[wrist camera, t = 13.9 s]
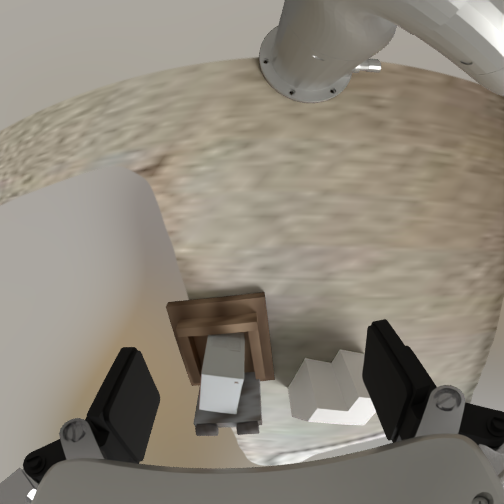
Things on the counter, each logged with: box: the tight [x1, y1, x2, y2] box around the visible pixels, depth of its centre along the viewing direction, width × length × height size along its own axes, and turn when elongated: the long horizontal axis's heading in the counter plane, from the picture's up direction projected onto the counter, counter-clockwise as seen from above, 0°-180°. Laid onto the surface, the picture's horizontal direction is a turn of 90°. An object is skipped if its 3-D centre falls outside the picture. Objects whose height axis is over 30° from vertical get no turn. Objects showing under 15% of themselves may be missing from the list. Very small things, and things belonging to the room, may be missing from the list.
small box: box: [199, 332, 245, 414], centre depth 40 cm, size 8×6×10 cm
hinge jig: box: [166, 292, 275, 436], centre depth 40 cm, size 15×17×14 cm
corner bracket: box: [288, 349, 376, 425], centre depth 44 cm, size 11×11×12 cm
